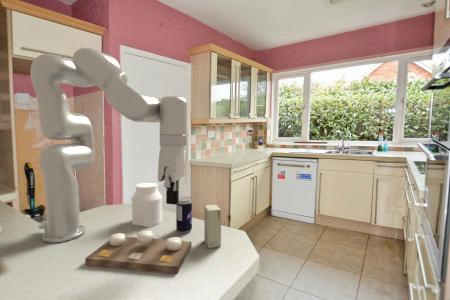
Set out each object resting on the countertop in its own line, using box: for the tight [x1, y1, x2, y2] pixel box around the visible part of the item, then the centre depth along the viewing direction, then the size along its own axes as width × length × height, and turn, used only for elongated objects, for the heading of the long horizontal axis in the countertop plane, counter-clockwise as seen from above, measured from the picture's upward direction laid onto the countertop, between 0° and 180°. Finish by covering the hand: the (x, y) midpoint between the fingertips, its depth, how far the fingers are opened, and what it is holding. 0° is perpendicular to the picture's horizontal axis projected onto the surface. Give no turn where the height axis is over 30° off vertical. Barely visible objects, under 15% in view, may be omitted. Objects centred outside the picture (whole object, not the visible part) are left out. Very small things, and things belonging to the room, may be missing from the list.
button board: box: [85, 236, 192, 275], centre depth 72 cm, size 26×14×2 cm, turn 83°
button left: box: [108, 232, 126, 246], centre depth 75 cm, size 4×4×2 cm
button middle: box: [136, 229, 154, 243], centre depth 74 cm, size 4×4×2 cm
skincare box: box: [203, 204, 222, 249], centre depth 80 cm, size 6×4×12 cm
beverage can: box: [175, 196, 193, 234], centre depth 90 cm, size 6×6×12 cm
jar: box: [131, 182, 163, 228], centre depth 98 cm, size 12×10×15 cm
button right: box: [165, 236, 182, 251], centre depth 73 cm, size 4×4×2 cm
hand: (172, 203), depth 72 cm, fingers closed
